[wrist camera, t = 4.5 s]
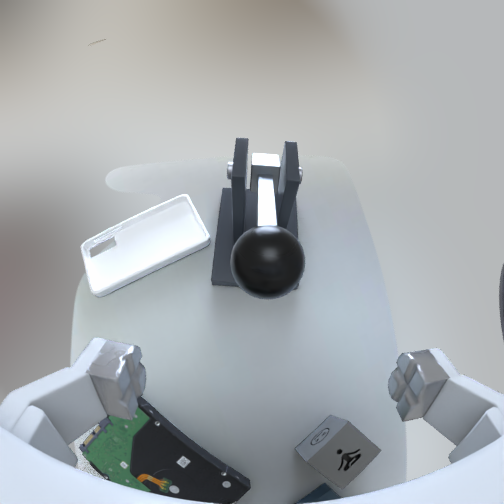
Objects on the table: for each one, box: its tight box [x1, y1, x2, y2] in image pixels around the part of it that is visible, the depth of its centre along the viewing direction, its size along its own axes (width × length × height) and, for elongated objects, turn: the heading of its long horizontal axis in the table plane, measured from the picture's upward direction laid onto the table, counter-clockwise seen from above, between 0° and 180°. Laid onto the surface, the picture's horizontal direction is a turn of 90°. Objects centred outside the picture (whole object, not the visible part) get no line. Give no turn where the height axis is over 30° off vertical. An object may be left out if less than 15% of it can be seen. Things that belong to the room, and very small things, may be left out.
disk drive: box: [79, 396, 250, 504], centre depth 19 cm, size 10×3×15 cm
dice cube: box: [295, 415, 381, 489], centre depth 20 cm, size 5×5×5 cm
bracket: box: [211, 138, 302, 289], centre depth 26 cm, size 12×9×13 cm
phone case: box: [81, 194, 210, 297], centre depth 30 cm, size 7×1×15 cm
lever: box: [230, 153, 305, 299], centre depth 18 cm, size 14×4×4 cm, turn 178°
